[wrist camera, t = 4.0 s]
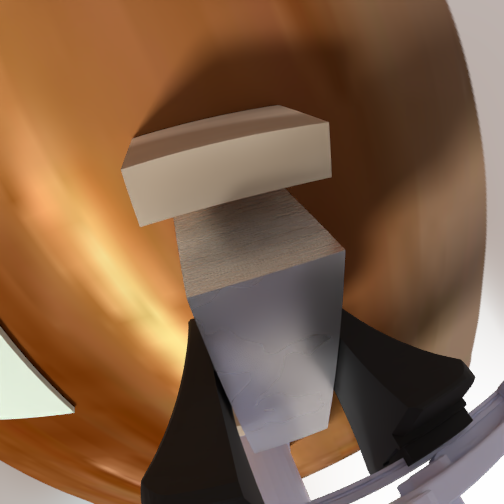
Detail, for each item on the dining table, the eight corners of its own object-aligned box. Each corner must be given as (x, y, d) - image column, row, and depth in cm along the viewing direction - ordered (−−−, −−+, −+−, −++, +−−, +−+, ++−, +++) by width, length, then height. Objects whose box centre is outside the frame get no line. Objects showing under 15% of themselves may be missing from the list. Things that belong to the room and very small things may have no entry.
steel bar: (290, 351, 16) (327, 427, 12) (228, 371, 16) (254, 453, 12) (270, 175, 11) (345, 250, 7) (171, 200, 10) (187, 297, 6)
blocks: (301, 381, 20) (321, 423, 17) (229, 405, 19) (243, 450, 16) (278, 104, 10) (328, 122, 7) (132, 138, 9) (120, 169, 6)
